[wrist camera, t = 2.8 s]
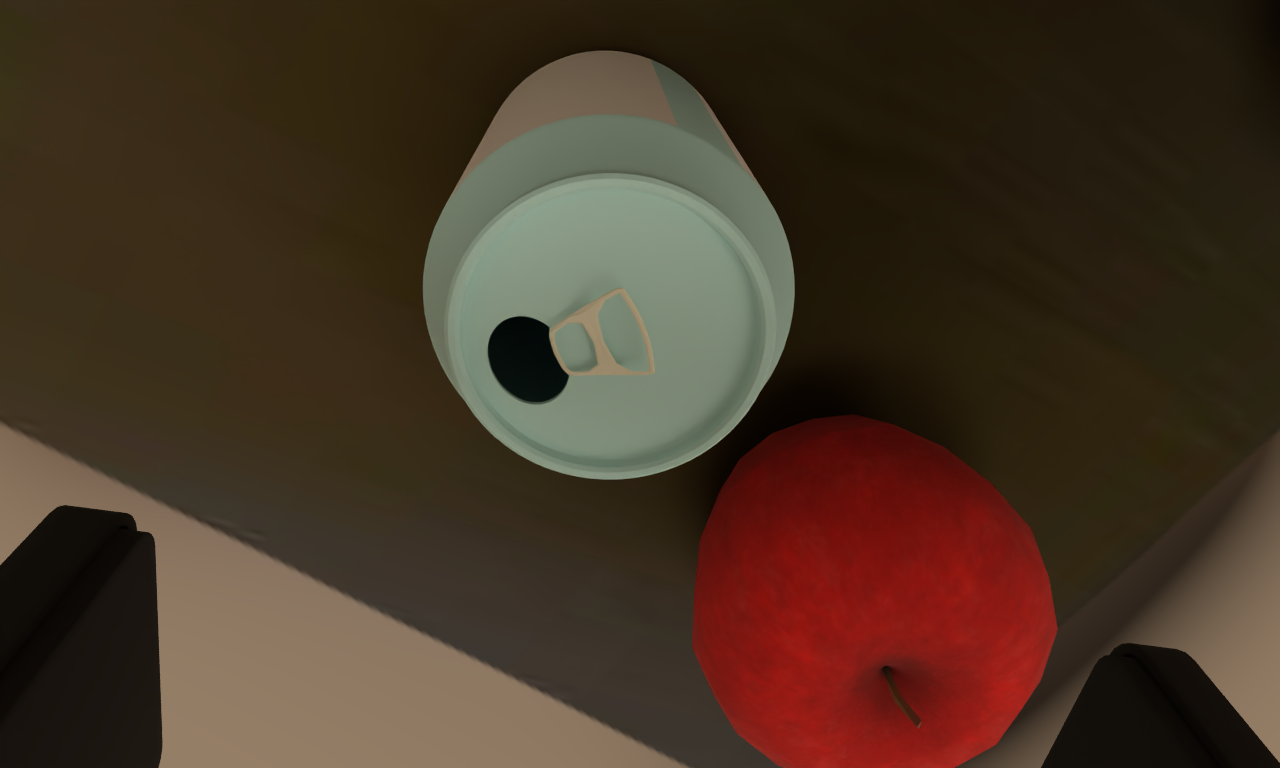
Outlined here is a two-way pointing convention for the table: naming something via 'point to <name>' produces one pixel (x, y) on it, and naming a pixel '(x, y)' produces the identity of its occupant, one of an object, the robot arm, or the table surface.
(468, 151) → the table surface
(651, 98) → the can
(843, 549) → the apple
